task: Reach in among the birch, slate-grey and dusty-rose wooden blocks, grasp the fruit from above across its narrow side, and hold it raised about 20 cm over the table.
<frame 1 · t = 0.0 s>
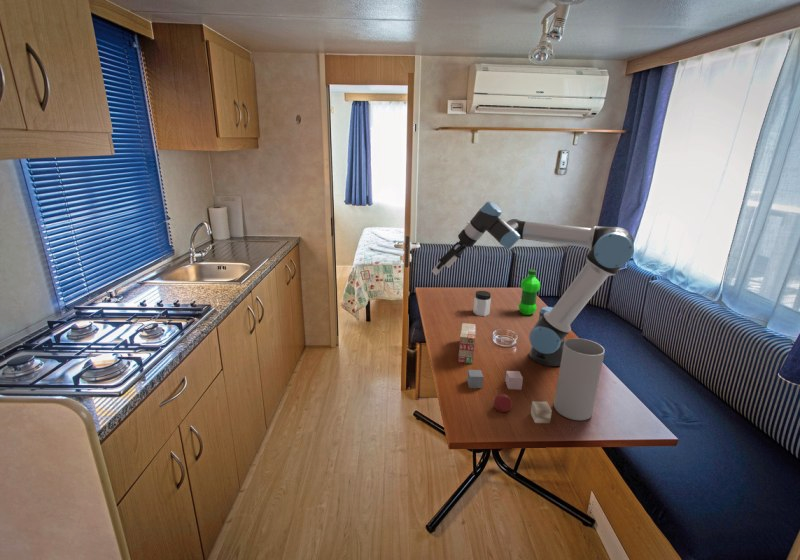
hand: (440, 269, 180), 36 cm above the table, tool tilted 35°, fingers open, 13 cm apart
slate grey block: (474, 384, 158), on the table
cylinder vase: (572, 410, 144), on the table
dusty rose block: (513, 385, 158), on the table
jar: (481, 313, 228), on the table
plastic bottle: (526, 313, 230), on the table
birch block: (539, 418, 139), on the table
fruit: (500, 407, 145), on the table
stack of blocks: (466, 352, 184), on the table
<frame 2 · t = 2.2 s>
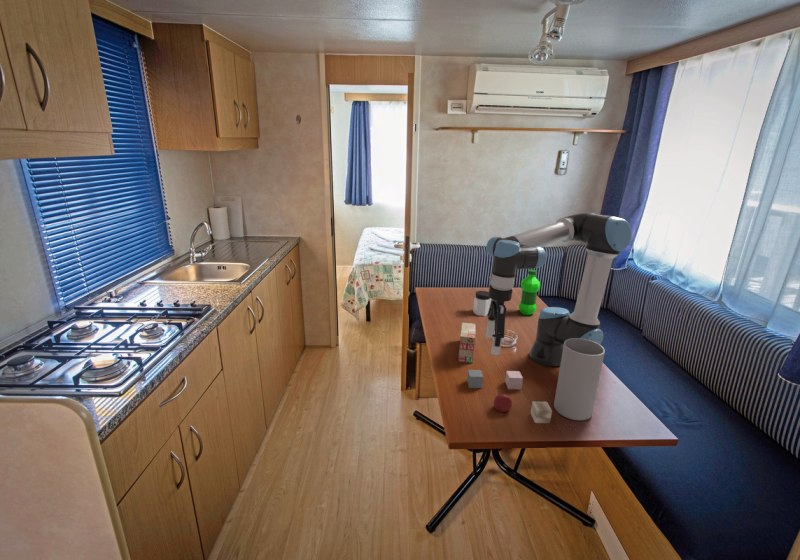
hand: (492, 345, 141), 22 cm above the table, tool pointing down, fingers open, 13 cm apart
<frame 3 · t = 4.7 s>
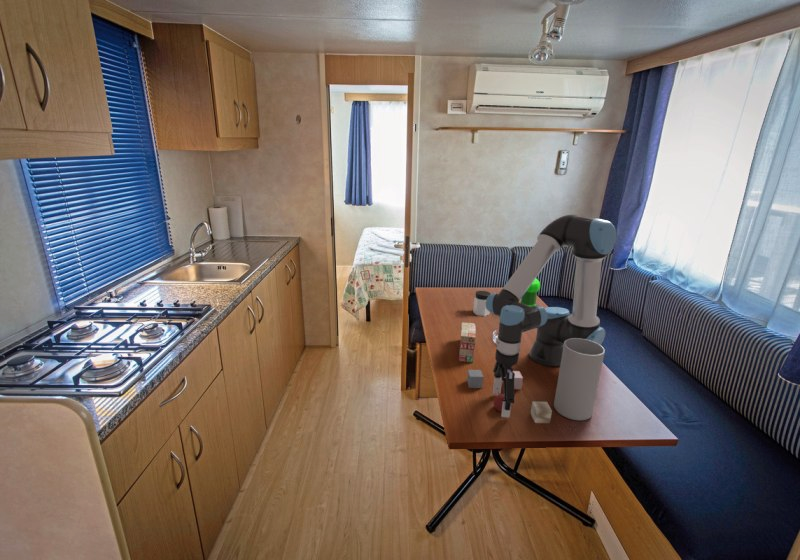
hand: (500, 404, 144), 1 cm above the table, tool pointing down, fingers open, 13 cm apart
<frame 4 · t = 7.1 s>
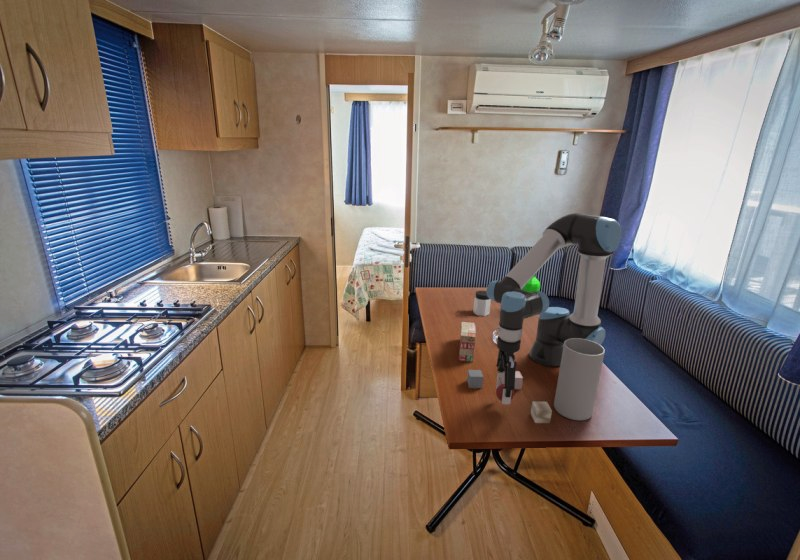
hand: (502, 395, 144), 4 cm above the table, tool pointing down, fingers closed on fruit, 8 cm apart
fruit: (502, 397, 144), point 4 cm above the table, touching gripper
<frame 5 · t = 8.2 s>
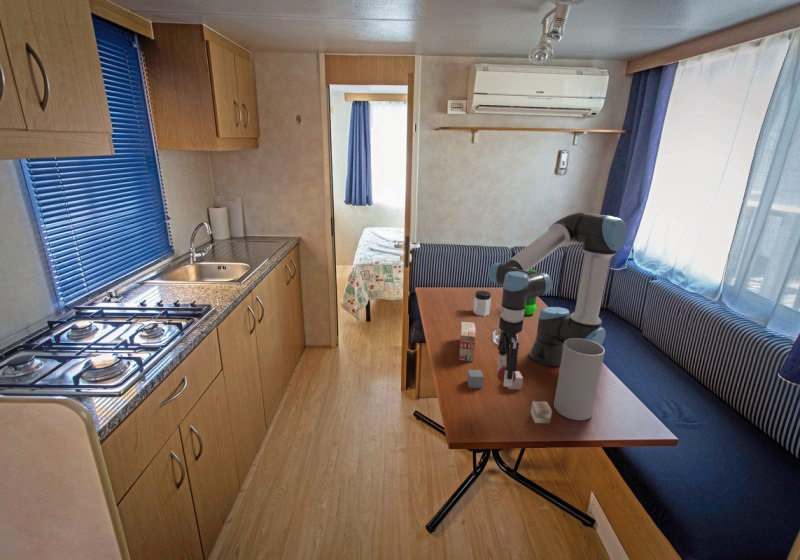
hand: (504, 378, 141), 11 cm above the table, tool pointing down, fingers closed on fruit, 8 cm apart
fruit: (504, 380, 141), point 11 cm above the table, touching gripper
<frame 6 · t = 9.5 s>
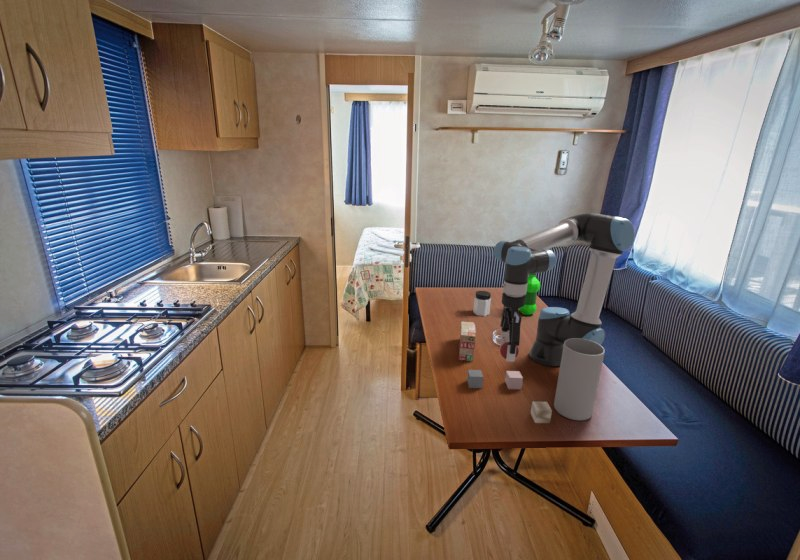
hand: (507, 354, 143), 19 cm above the table, tool pointing down, fingers closed on fruit, 8 cm apart
fruit: (507, 355, 143), point 18 cm above the table, touching gripper
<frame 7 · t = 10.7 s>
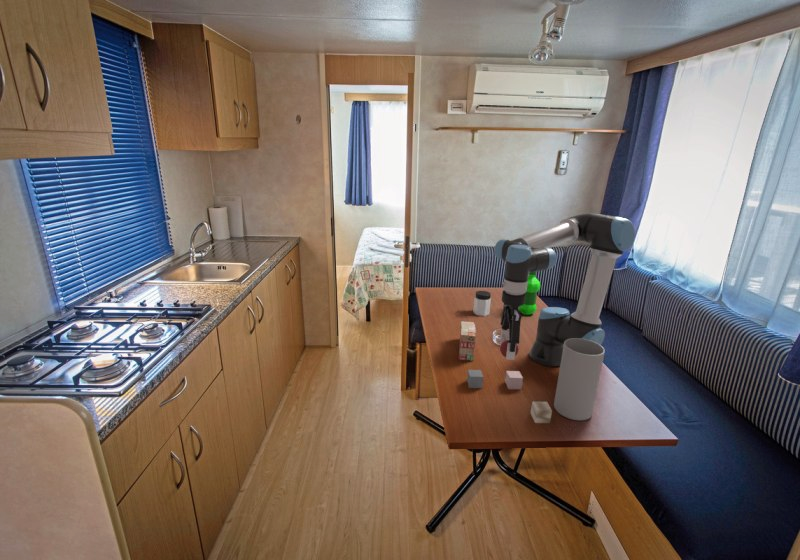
hand: (506, 352, 143), 19 cm above the table, tool pointing down, fingers closed on fruit, 8 cm apart
fruit: (506, 354, 143), point 19 cm above the table, touching gripper
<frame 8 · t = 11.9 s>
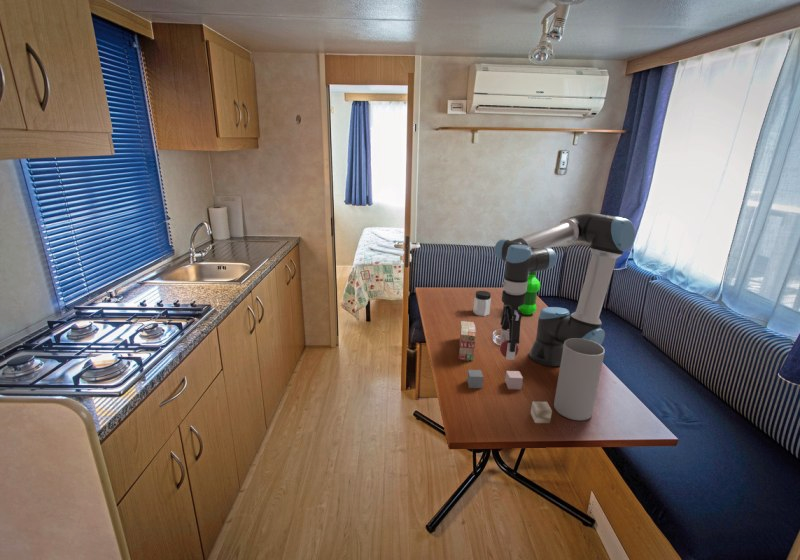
hand: (506, 352, 143), 19 cm above the table, tool pointing down, fingers closed on fruit, 8 cm apart
fruit: (506, 354, 143), point 19 cm above the table, touching gripper
at the end: the gripper is holding fruit; fruit point 18.7 cm above the table; birch block moved 0.1 cm from its start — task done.
